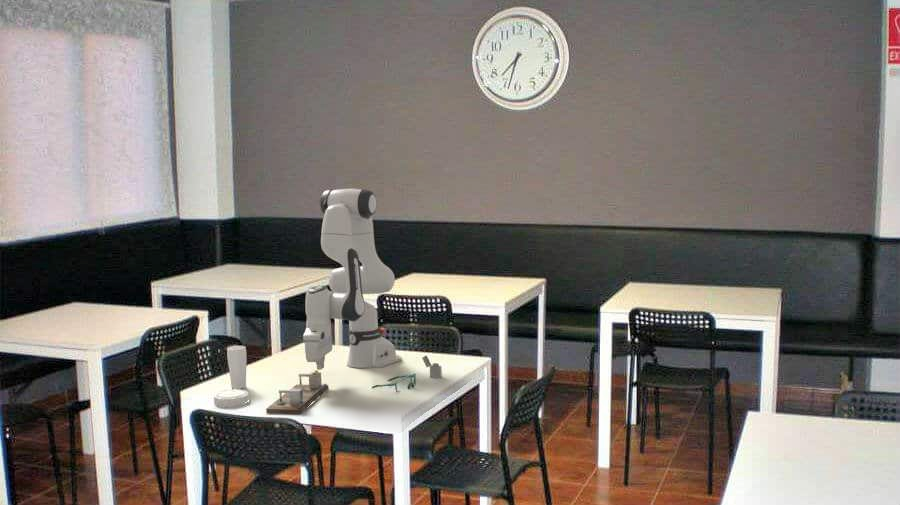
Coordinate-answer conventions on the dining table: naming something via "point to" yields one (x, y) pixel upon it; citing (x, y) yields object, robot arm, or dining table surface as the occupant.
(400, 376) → the teal eyeglasses
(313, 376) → the slider leg
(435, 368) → the lighter
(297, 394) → the fixed leg
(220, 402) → the white round disc
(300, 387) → the gauge board
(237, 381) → the drinking glass
